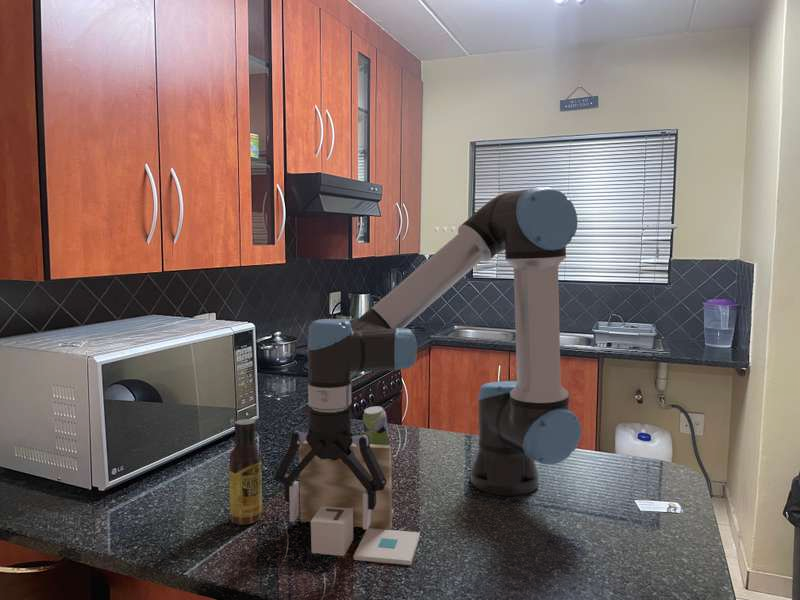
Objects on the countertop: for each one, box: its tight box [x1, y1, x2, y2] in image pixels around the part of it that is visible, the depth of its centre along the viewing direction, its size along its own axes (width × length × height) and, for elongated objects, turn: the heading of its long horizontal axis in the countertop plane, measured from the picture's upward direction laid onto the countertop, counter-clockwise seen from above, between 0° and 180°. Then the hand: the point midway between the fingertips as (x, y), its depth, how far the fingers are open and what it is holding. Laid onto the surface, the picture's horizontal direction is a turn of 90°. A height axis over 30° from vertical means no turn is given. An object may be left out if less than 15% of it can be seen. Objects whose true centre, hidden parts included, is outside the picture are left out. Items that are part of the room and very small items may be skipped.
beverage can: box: [362, 405, 391, 445], centre depth 155 cm, size 6×7×12 cm
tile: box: [353, 528, 421, 566], centre depth 107 cm, size 10×10×1 cm
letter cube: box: [310, 506, 354, 557], centre depth 108 cm, size 6×6×6 cm
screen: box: [298, 440, 395, 530], centre depth 118 cm, size 18×6×16 cm, turn 79°
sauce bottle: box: [228, 418, 263, 526], centre depth 118 cm, size 6×6×20 cm
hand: (330, 522), depth 107 cm, fingers open, 13 cm apart
